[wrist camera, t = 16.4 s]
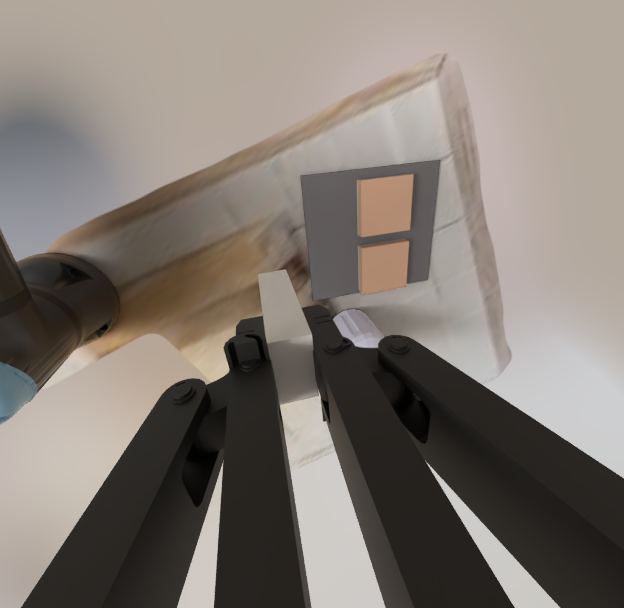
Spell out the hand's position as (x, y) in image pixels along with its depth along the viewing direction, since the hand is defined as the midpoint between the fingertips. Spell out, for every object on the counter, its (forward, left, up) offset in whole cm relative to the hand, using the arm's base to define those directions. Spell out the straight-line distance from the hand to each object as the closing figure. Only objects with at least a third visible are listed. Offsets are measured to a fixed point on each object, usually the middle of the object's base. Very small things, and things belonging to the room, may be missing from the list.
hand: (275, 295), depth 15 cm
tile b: (+17, -13, -33) cm, 39 cm away
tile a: (+17, -2, -33) cm, 37 cm away
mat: (+20, -7, -34) cm, 40 cm away
